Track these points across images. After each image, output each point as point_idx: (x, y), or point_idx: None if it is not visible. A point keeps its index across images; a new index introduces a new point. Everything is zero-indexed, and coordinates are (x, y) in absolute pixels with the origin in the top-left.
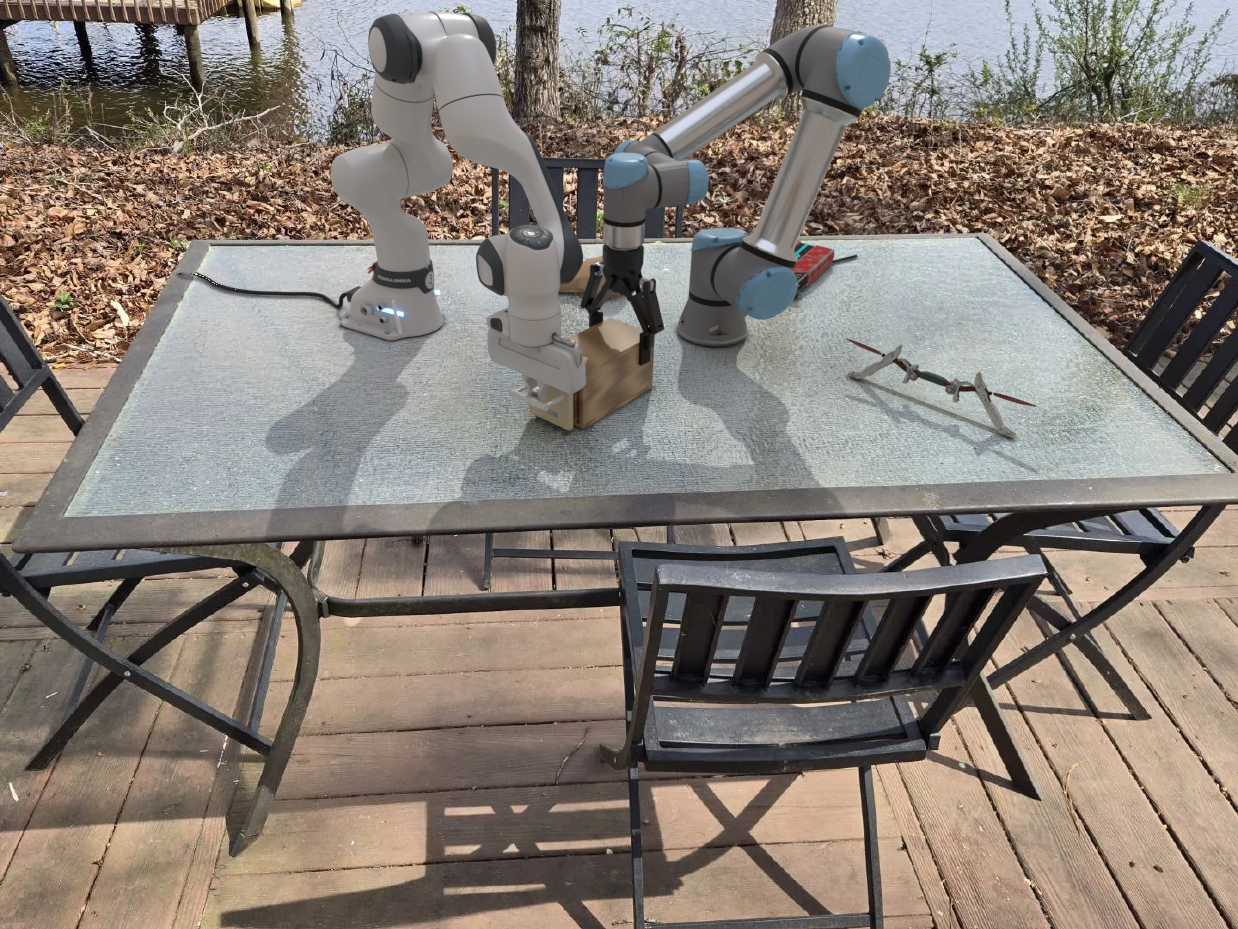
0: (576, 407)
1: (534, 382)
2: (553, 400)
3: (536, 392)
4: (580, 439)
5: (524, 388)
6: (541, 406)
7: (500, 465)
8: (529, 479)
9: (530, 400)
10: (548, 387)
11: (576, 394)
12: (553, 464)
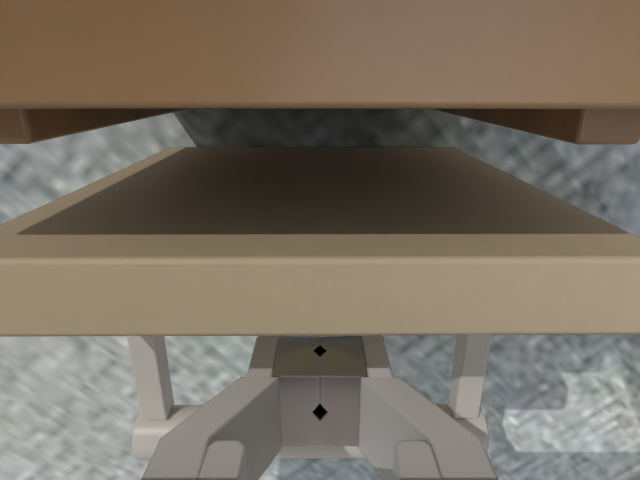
0: None
1: (256, 413)
2: (473, 360)
3: (351, 442)
4: (507, 164)
5: (160, 349)
6: None
7: (365, 469)
8: (497, 465)
9: (344, 457)
10: (425, 400)
11: None
12: (516, 366)
